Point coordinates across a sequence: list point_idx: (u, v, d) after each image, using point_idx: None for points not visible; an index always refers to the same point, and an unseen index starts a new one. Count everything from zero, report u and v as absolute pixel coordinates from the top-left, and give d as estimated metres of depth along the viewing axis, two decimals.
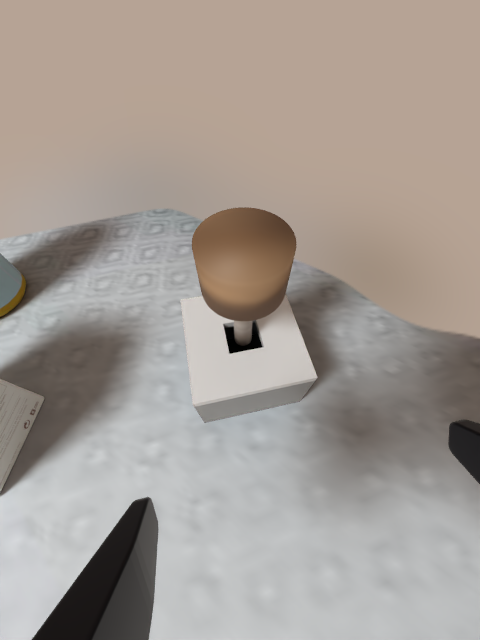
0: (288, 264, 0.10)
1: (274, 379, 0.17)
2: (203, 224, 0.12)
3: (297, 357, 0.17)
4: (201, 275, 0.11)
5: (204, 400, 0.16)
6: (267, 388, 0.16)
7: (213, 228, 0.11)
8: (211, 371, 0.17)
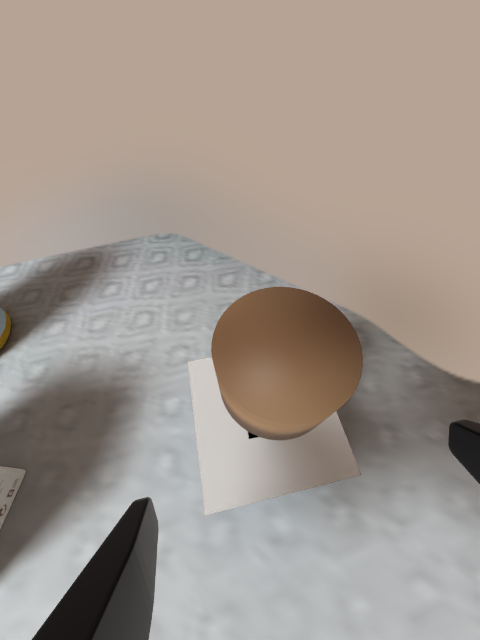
0: (354, 389, 0.07)
1: (307, 477, 0.13)
2: (226, 316, 0.08)
3: (333, 444, 0.14)
4: (224, 394, 0.08)
5: (219, 509, 0.13)
6: (298, 490, 0.13)
7: (240, 323, 0.08)
8: (227, 465, 0.14)
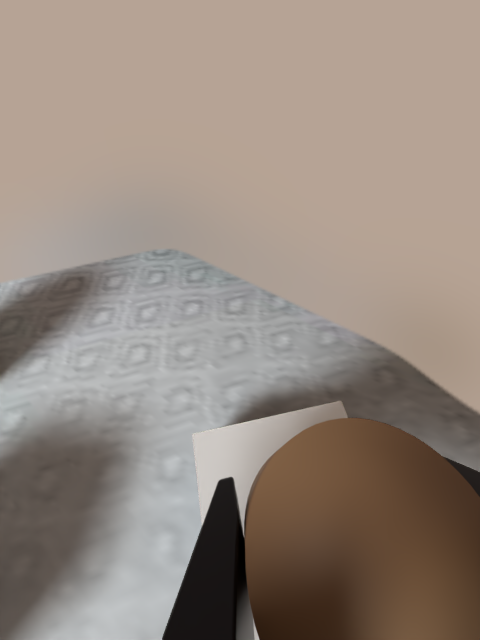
0: None
1: None
2: (266, 486, 0.05)
3: None
4: None
5: None
6: None
7: (293, 502, 0.05)
8: None
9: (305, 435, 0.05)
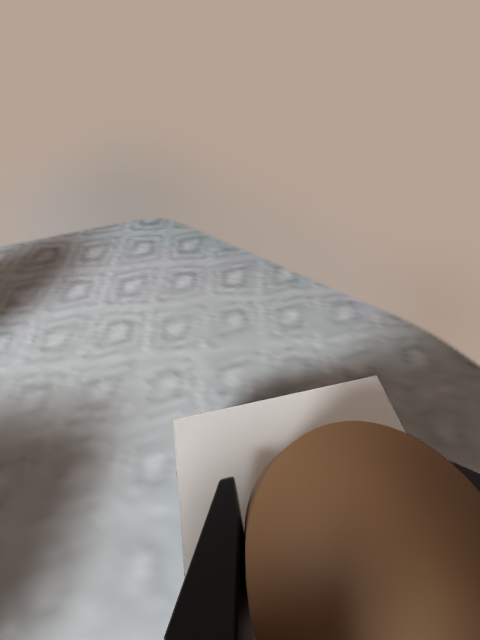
0: None
1: None
2: (267, 491, 0.05)
3: None
4: None
5: None
6: None
7: (295, 508, 0.05)
8: None
9: (307, 438, 0.05)
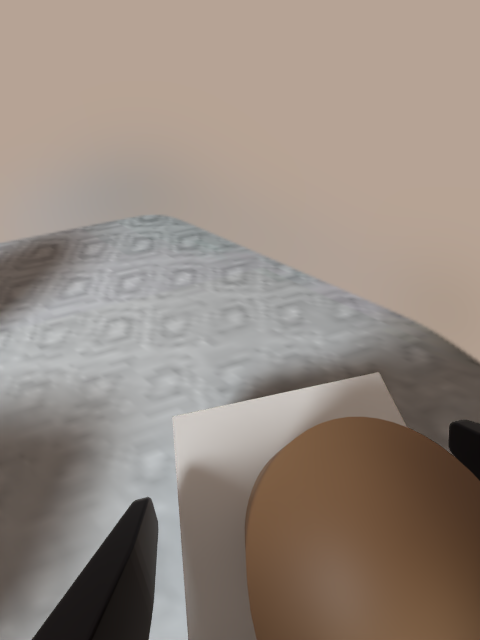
0: None
1: None
2: (268, 488, 0.05)
3: None
4: None
5: None
6: None
7: (297, 506, 0.04)
8: None
9: (309, 435, 0.05)
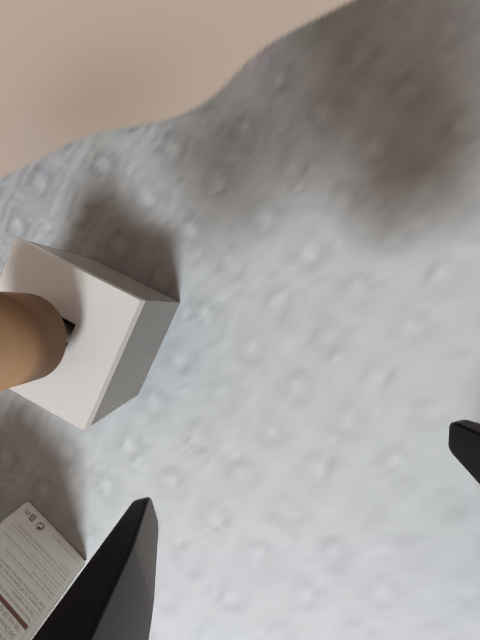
0: (4, 330, 0.10)
1: (112, 342, 0.14)
2: None
3: (108, 301, 0.14)
4: None
5: (86, 418, 0.14)
6: (116, 355, 0.14)
7: None
8: (65, 392, 0.15)
9: None
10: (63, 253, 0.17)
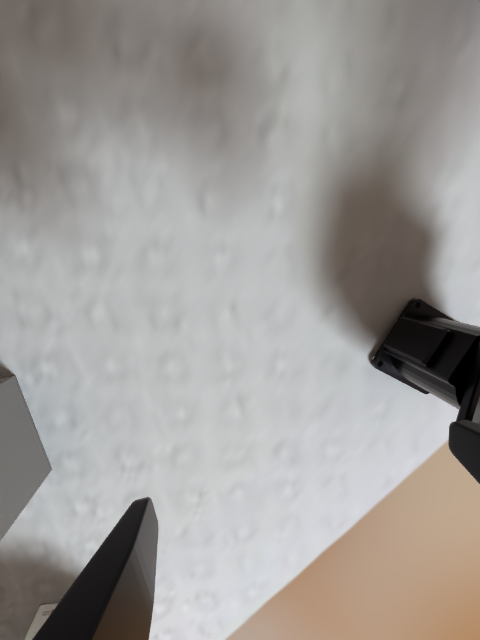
0: None
1: None
2: None
3: None
4: None
5: None
6: None
7: None
8: None
9: None
10: None
